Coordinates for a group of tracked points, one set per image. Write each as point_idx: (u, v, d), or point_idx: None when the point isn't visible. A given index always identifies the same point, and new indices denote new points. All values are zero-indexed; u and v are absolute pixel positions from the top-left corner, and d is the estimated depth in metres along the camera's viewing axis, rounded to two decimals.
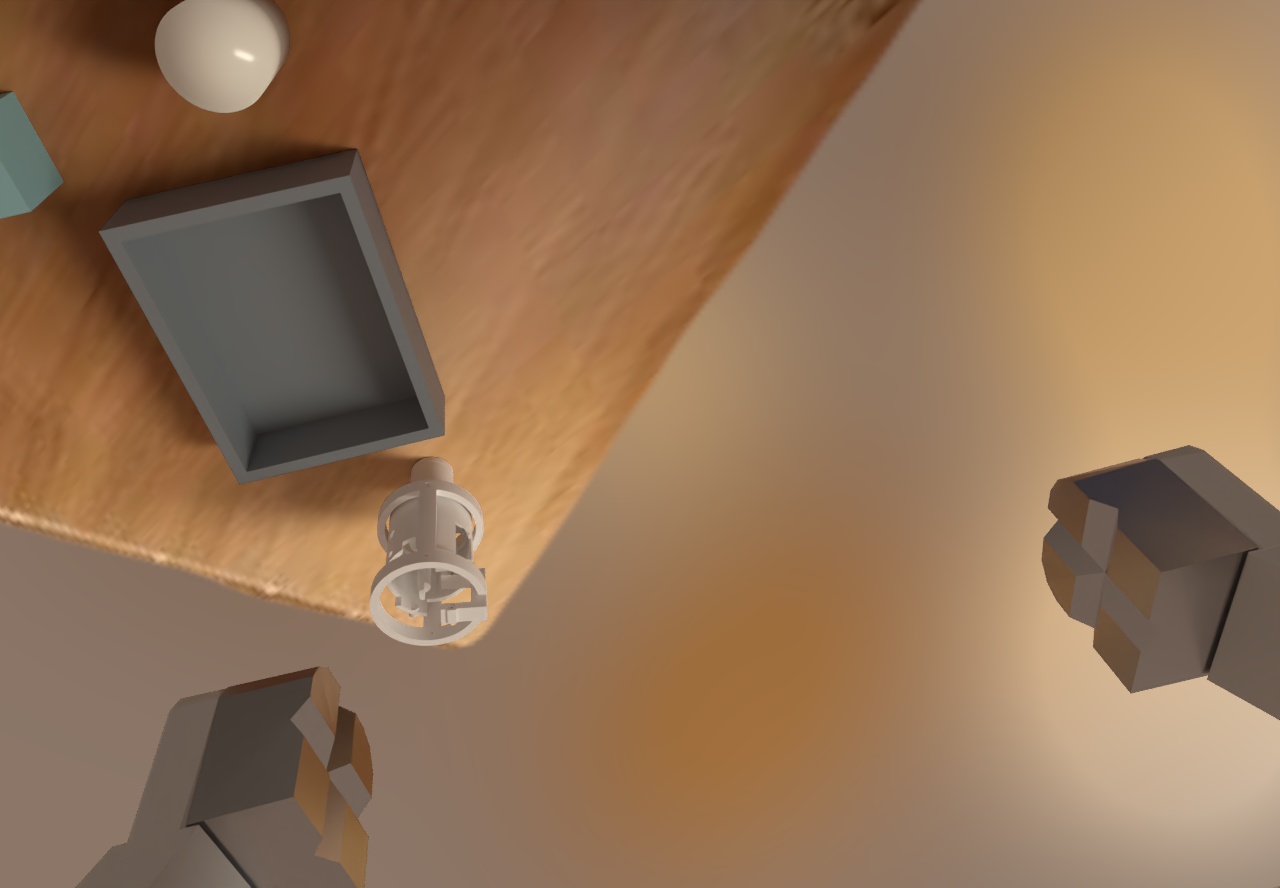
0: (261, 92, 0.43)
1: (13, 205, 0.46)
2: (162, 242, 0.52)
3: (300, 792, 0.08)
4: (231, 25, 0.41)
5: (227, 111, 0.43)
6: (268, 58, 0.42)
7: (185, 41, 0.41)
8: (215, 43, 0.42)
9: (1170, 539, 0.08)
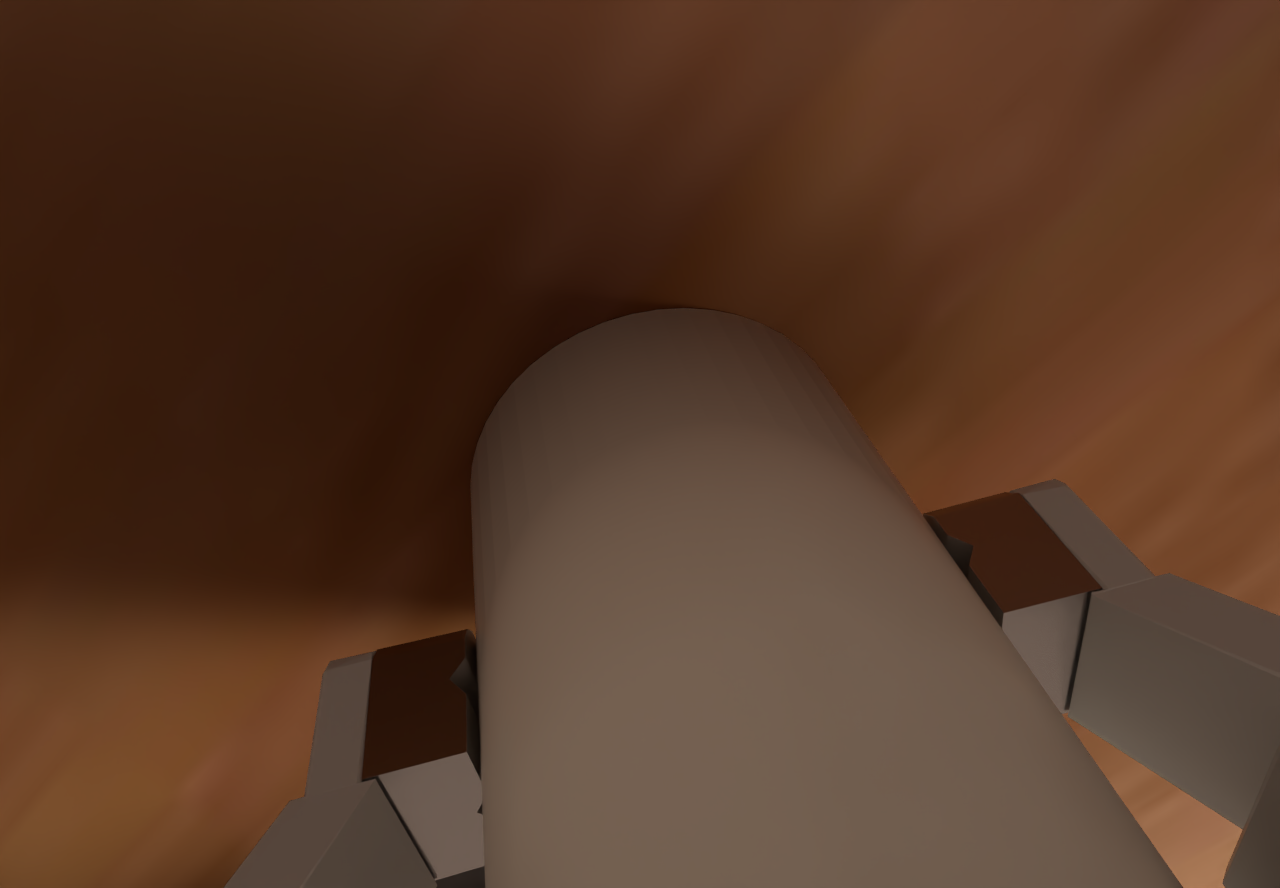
0: None
1: None
2: None
3: (469, 749, 0.08)
4: None
5: None
6: None
7: None
8: None
9: (1018, 578, 0.08)
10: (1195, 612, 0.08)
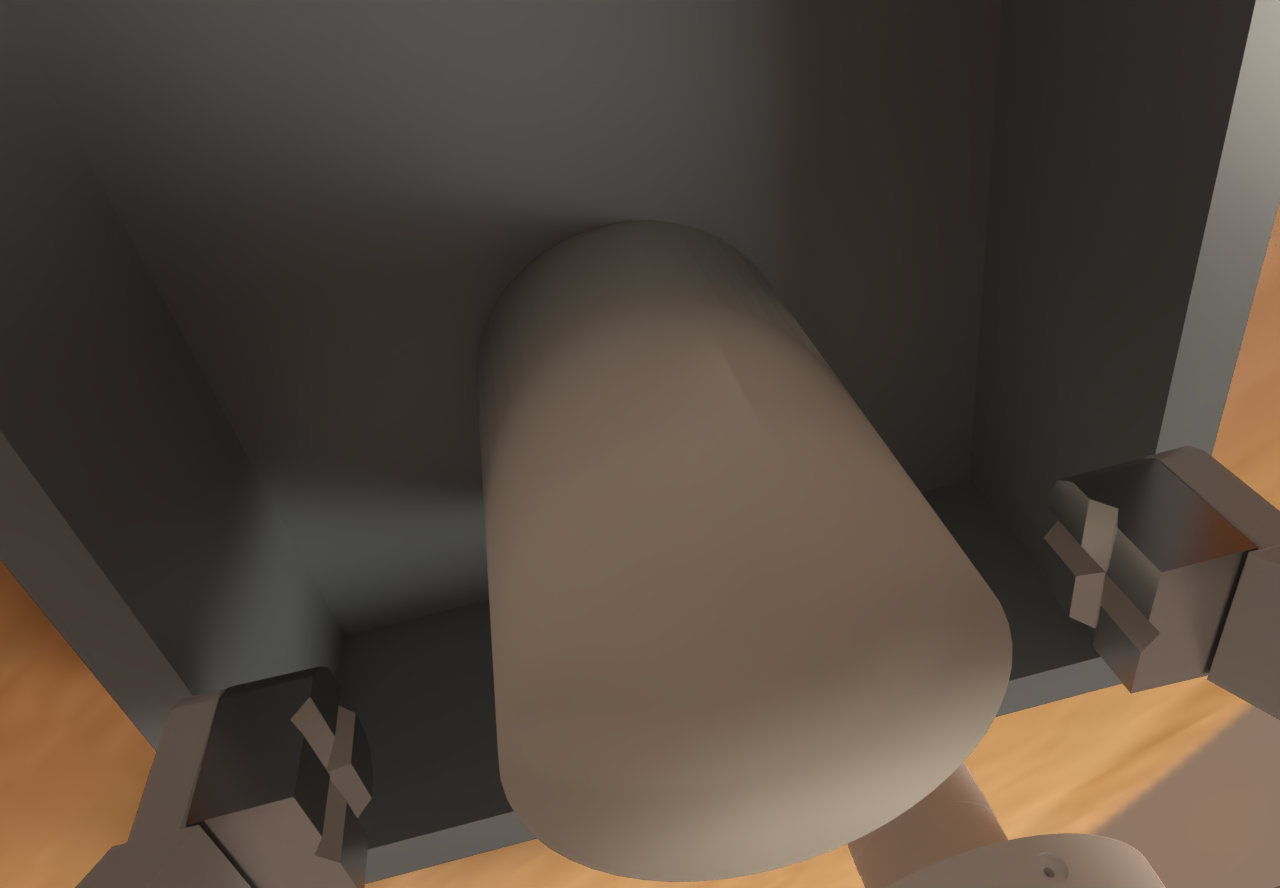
0: (911, 802, 0.10)
1: None
2: None
3: (300, 792, 0.08)
4: (903, 612, 0.08)
5: (748, 871, 0.10)
6: (996, 696, 0.09)
7: (658, 694, 0.08)
8: (796, 683, 0.08)
9: (1170, 539, 0.08)
10: None
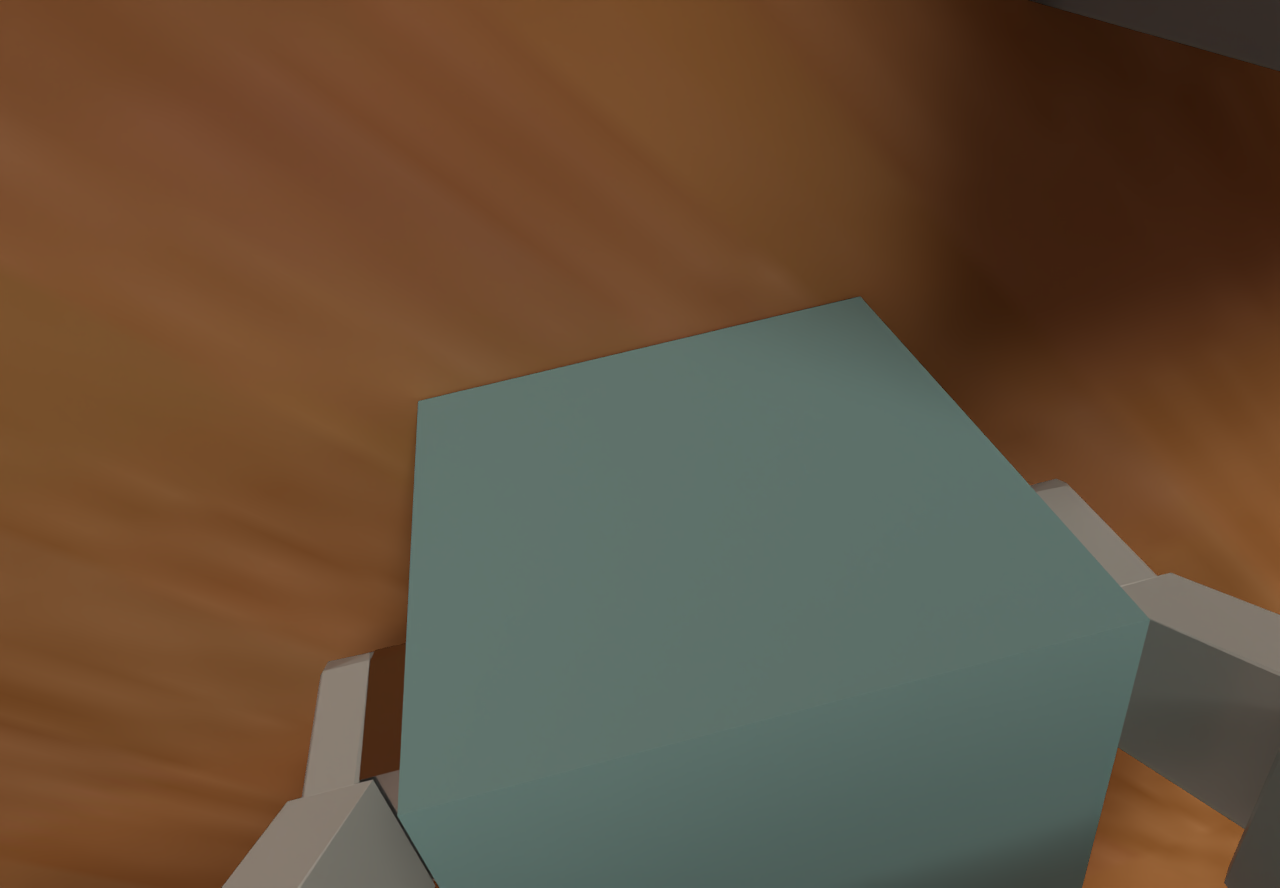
0: None
1: (1067, 698, 0.06)
2: None
3: None
4: None
5: None
6: None
7: None
8: None
9: None
10: (1197, 612, 0.08)
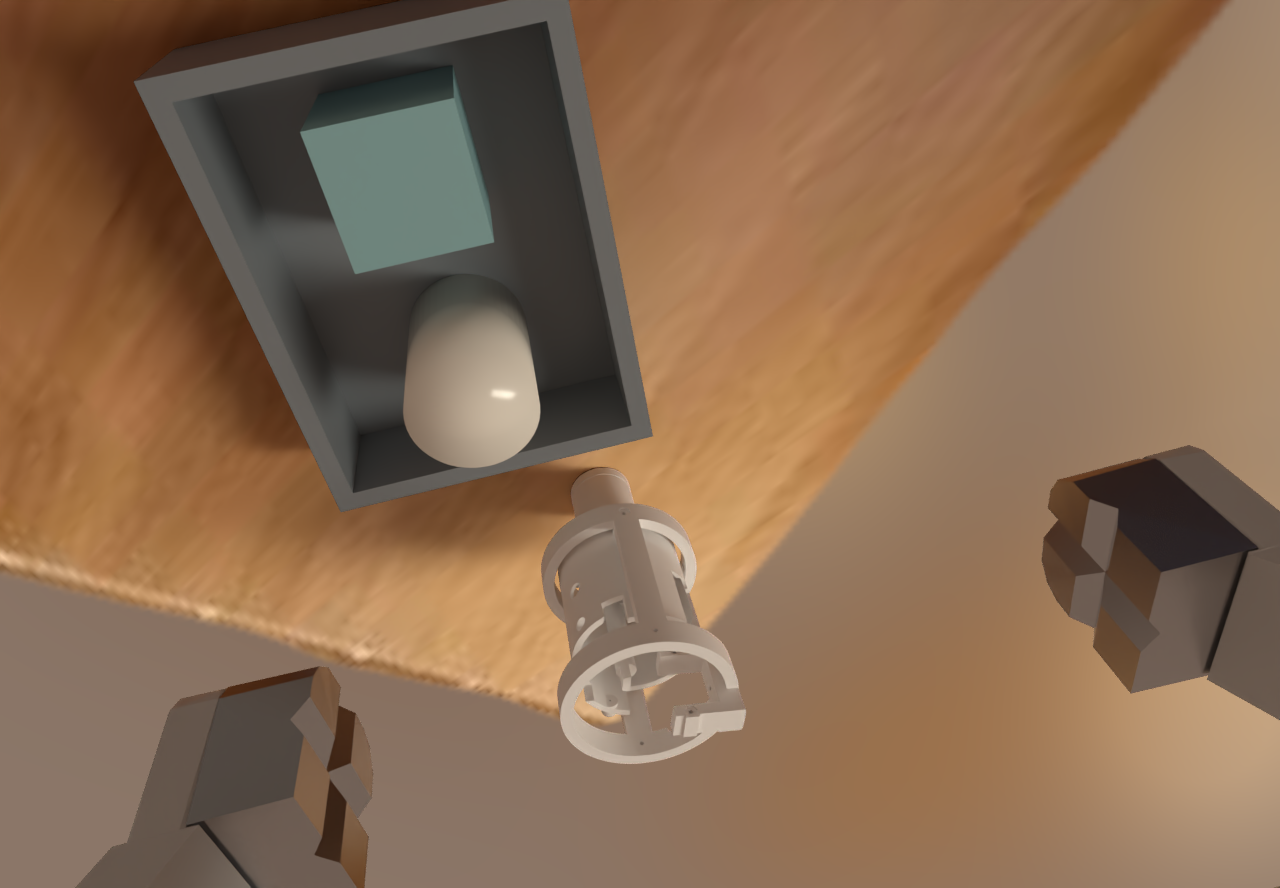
0: (525, 443, 0.34)
1: (444, 121, 0.29)
2: (231, 123, 0.32)
3: (300, 793, 0.08)
4: (501, 378, 0.32)
5: (480, 466, 0.34)
6: (539, 408, 0.33)
7: (442, 398, 0.32)
8: (478, 397, 0.32)
9: (1170, 539, 0.08)
10: None
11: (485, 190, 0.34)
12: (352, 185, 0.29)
